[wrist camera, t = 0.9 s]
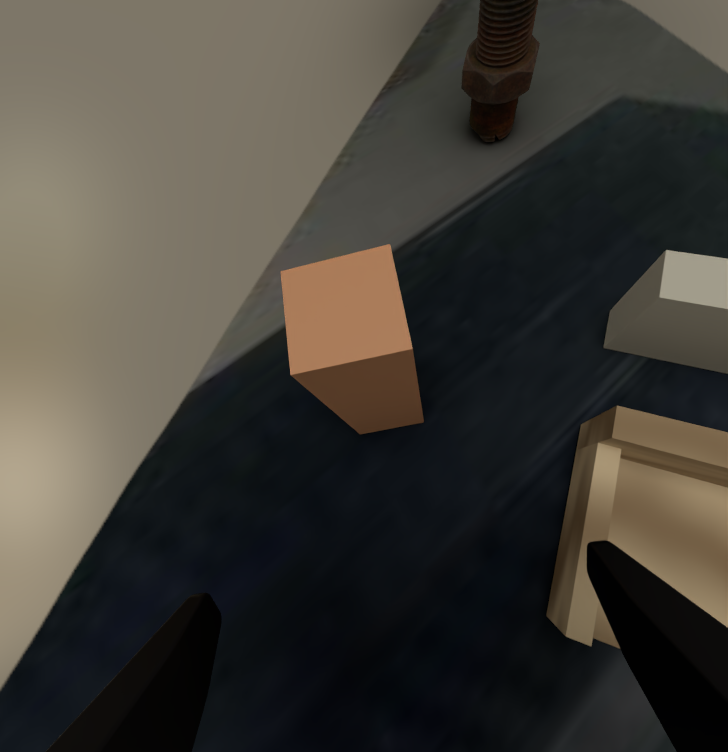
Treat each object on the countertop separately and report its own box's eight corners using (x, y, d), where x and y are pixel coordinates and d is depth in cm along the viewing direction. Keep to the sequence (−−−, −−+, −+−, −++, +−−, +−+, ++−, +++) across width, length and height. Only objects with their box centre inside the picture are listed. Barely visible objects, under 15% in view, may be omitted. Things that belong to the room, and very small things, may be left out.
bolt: (515, 94, 29) (588, -273, 15) (540, 140, 28) (648, -228, 14) (443, 119, 30) (449, -214, 16) (463, 165, 28) (489, -163, 14)
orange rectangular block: (424, 422, 23) (412, 349, 12) (360, 434, 23) (290, 375, 12) (411, 361, 24) (389, 244, 13) (351, 374, 25) (280, 271, 14)
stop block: (766, 381, 20) (892, 337, 15) (603, 347, 22) (659, 297, 17) (768, 340, 21) (891, 282, 15) (609, 310, 23) (665, 250, 17)
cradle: (765, 701, 16) (879, 770, 12) (546, 615, 19) (578, 649, 15) (776, 475, 19) (874, 468, 15) (580, 424, 21) (616, 405, 17)
